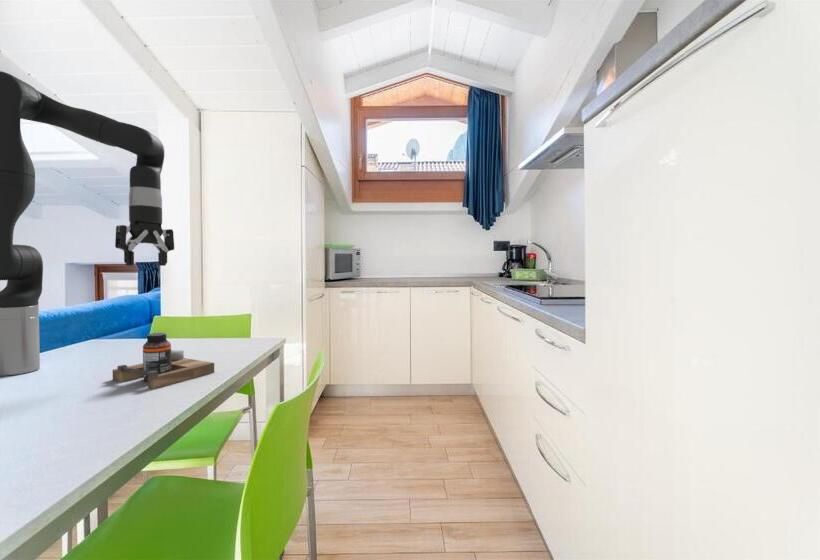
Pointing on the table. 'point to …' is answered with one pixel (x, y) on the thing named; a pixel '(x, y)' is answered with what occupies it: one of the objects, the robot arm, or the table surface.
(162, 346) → the supplement bottle
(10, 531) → the table surface
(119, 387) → the table surface
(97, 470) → the table surface
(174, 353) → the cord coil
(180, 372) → the notched board
